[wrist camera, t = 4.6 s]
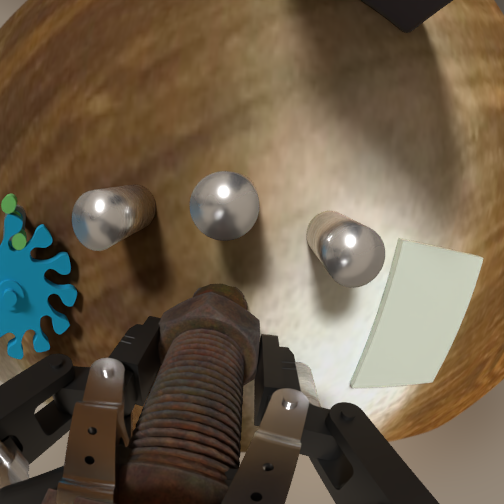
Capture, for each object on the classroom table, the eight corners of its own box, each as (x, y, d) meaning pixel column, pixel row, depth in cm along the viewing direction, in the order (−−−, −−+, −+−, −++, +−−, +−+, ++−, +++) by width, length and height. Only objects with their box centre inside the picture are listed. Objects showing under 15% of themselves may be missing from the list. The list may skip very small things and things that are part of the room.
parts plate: (350, 382, 18) (352, 388, 17) (398, 238, 15) (403, 240, 15) (429, 378, 18) (432, 382, 18) (478, 255, 15) (483, 258, 15)
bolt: (259, 346, 17) (264, 596, 3) (180, 339, 17) (100, 566, 3) (267, 258, 15) (309, 597, 1) (177, 252, 15) (-12, 502, 1)
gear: (77, 362, 16) (-41, 361, 9) (63, 323, 20) (-33, 319, 12) (90, 209, 15) (-52, 188, 7) (76, 198, 19) (-31, 182, 11)
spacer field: (123, 373, 18) (101, 413, 14) (119, 162, 14) (75, 161, 10) (302, 400, 18) (310, 446, 14) (358, 194, 14) (397, 203, 10)
